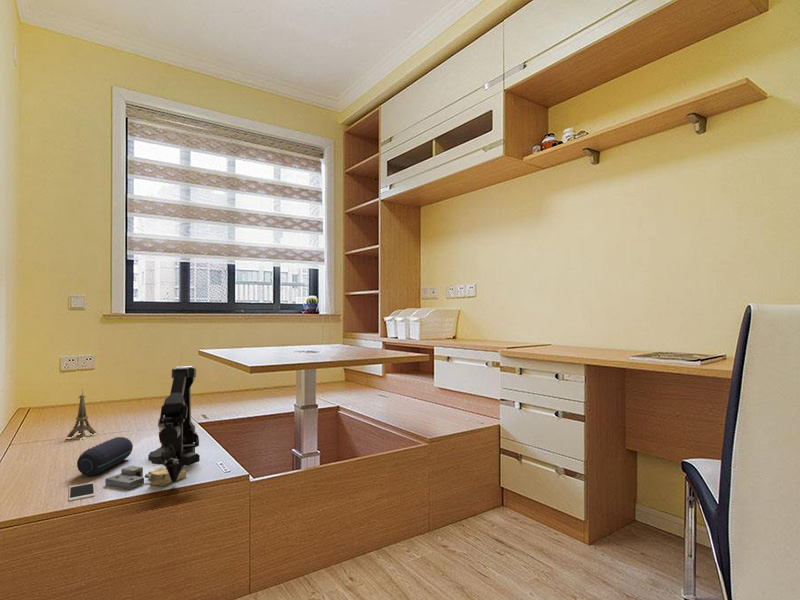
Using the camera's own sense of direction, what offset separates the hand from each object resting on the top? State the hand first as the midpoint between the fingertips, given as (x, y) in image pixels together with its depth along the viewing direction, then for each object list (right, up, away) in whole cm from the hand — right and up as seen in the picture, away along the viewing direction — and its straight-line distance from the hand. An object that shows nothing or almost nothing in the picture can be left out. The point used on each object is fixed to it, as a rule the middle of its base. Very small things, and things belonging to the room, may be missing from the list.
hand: (173, 481), depth 164 cm
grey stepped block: (-17, -2, +3) cm, 18 cm away
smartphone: (-29, -2, -5) cm, 30 cm away
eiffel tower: (-81, -5, +70) cm, 107 cm away
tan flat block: (-7, -1, +6) cm, 9 cm away
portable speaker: (-37, -3, +21) cm, 43 cm away
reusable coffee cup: (-20, -3, +41) cm, 46 cm away
